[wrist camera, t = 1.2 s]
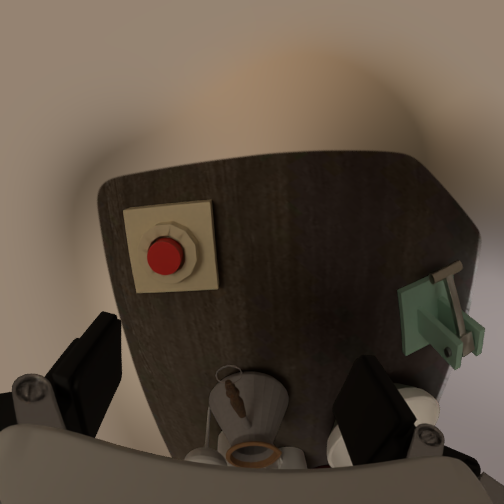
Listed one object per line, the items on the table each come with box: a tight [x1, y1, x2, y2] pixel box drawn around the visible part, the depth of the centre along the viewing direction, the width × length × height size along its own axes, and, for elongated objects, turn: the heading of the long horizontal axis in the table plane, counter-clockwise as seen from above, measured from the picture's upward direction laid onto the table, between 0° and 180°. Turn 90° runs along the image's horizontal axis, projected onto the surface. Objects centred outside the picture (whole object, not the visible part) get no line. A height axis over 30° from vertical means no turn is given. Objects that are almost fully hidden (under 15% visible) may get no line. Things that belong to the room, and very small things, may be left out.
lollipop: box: [184, 406, 227, 466], centre depth 34 cm, size 6×6×15 cm
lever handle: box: [429, 260, 475, 357], centre depth 30 cm, size 12×5×2 cm, turn 19°
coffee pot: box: [209, 365, 289, 468], centre depth 32 cm, size 21×12×15 cm, turn 8°
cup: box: [265, 447, 307, 469], centre depth 41 cm, size 8×12×10 cm
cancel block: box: [123, 200, 219, 293], centre depth 32 cm, size 10×10×4 cm
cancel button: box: [147, 238, 183, 275], centre depth 30 cm, size 4×4×2 cm
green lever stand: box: [397, 275, 485, 370], centre depth 33 cm, size 12×10×12 cm
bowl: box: [327, 383, 440, 468], centre depth 39 cm, size 20×20×10 cm
